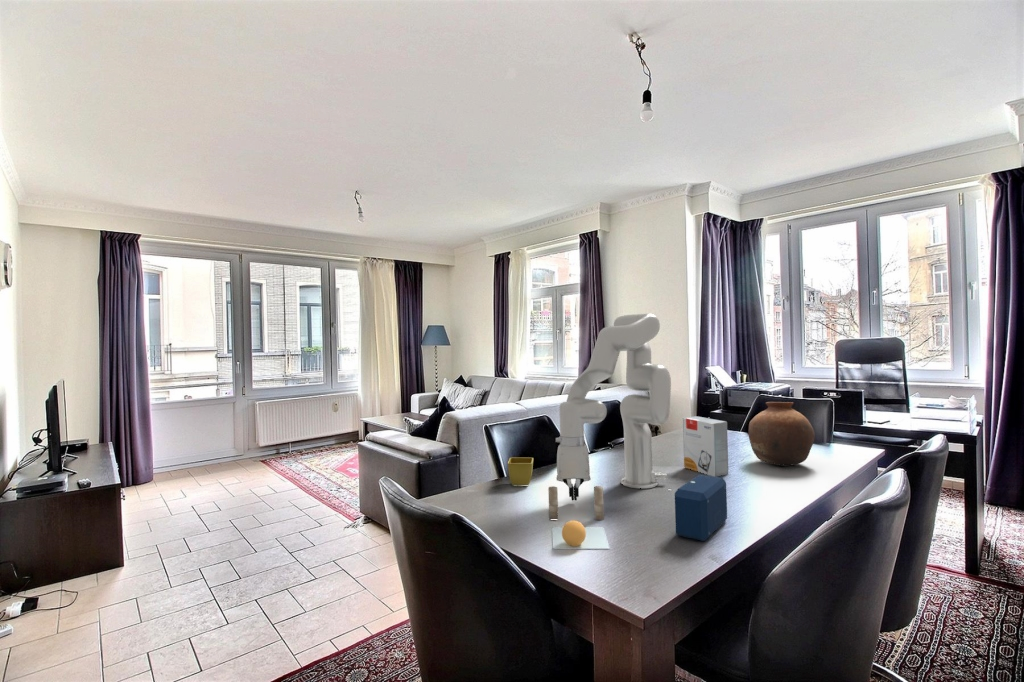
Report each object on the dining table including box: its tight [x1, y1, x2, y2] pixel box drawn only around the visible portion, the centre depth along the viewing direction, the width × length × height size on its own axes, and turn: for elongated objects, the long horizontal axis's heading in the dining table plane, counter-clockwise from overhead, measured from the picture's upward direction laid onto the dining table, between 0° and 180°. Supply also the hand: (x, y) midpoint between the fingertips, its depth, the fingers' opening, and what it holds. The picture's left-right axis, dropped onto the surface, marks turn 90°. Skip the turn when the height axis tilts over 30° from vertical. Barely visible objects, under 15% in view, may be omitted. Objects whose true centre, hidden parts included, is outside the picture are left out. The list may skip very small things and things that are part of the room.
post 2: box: [593, 485, 605, 521], centre depth 142 cm, size 3×3×9 cm
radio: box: [674, 451, 728, 542], centre depth 133 cm, size 21×9×20 cm, turn 141°
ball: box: [562, 520, 586, 546], centre depth 124 cm, size 6×6×6 cm
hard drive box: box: [682, 415, 729, 477], centre depth 189 cm, size 16×8×20 cm, turn 25°
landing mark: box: [551, 526, 611, 550], centre depth 129 cm, size 14×14×1 cm
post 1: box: [547, 485, 559, 520], centre depth 143 cm, size 3×3×9 cm
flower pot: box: [507, 457, 534, 486], centre depth 178 cm, size 9×9×9 cm
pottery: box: [748, 401, 816, 467], centre depth 195 cm, size 23×23×25 cm
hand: (574, 499), depth 156 cm, fingers closed
